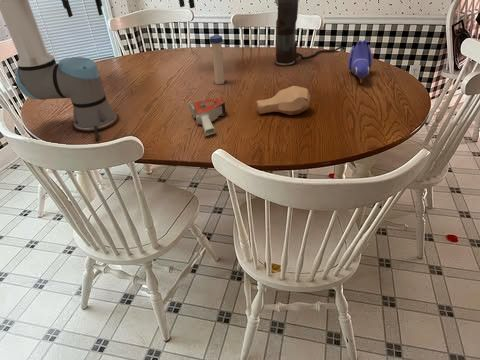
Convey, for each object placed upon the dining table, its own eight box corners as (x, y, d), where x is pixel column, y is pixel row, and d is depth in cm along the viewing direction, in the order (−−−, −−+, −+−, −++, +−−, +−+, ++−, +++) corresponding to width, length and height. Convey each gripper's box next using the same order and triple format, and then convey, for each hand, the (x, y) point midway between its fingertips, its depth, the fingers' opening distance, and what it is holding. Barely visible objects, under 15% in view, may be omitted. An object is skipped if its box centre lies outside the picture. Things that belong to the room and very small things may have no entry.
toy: (346, 77, 167) (349, 86, 145) (348, 39, 161) (352, 42, 138) (368, 76, 165) (375, 85, 143) (371, 38, 158) (379, 41, 136)
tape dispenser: (210, 142, 120) (241, 115, 132) (208, 128, 116) (241, 102, 129) (170, 128, 127) (203, 104, 139) (167, 115, 124) (202, 91, 136)
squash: (314, 116, 128) (313, 95, 122) (259, 125, 130) (256, 105, 124) (308, 99, 136) (307, 78, 129) (257, 108, 138) (253, 88, 131)
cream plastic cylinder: (219, 84, 158) (215, 40, 146) (213, 82, 160) (209, 38, 149) (226, 82, 160) (223, 37, 148) (220, 80, 162) (216, 36, 151)
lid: (215, 44, 147) (214, 39, 145) (207, 42, 150) (207, 37, 149) (225, 41, 149) (224, 36, 148) (217, 39, 153) (216, 34, 151)
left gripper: (102, -44, 147) (116, 12, 160) (44, -40, 148) (61, 15, 160) (96, -42, 141) (111, 15, 153) (35, -38, 142) (54, 19, 154)
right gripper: (197, -37, 146) (203, 7, 155) (179, -36, 155) (186, 4, 164) (181, -34, 142) (188, 10, 151) (164, -34, 152) (172, 7, 161)
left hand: (85, 15), depth 157 cm, fingers open, 13 cm apart
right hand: (187, 7), depth 158 cm, fingers open, 8 cm apart
